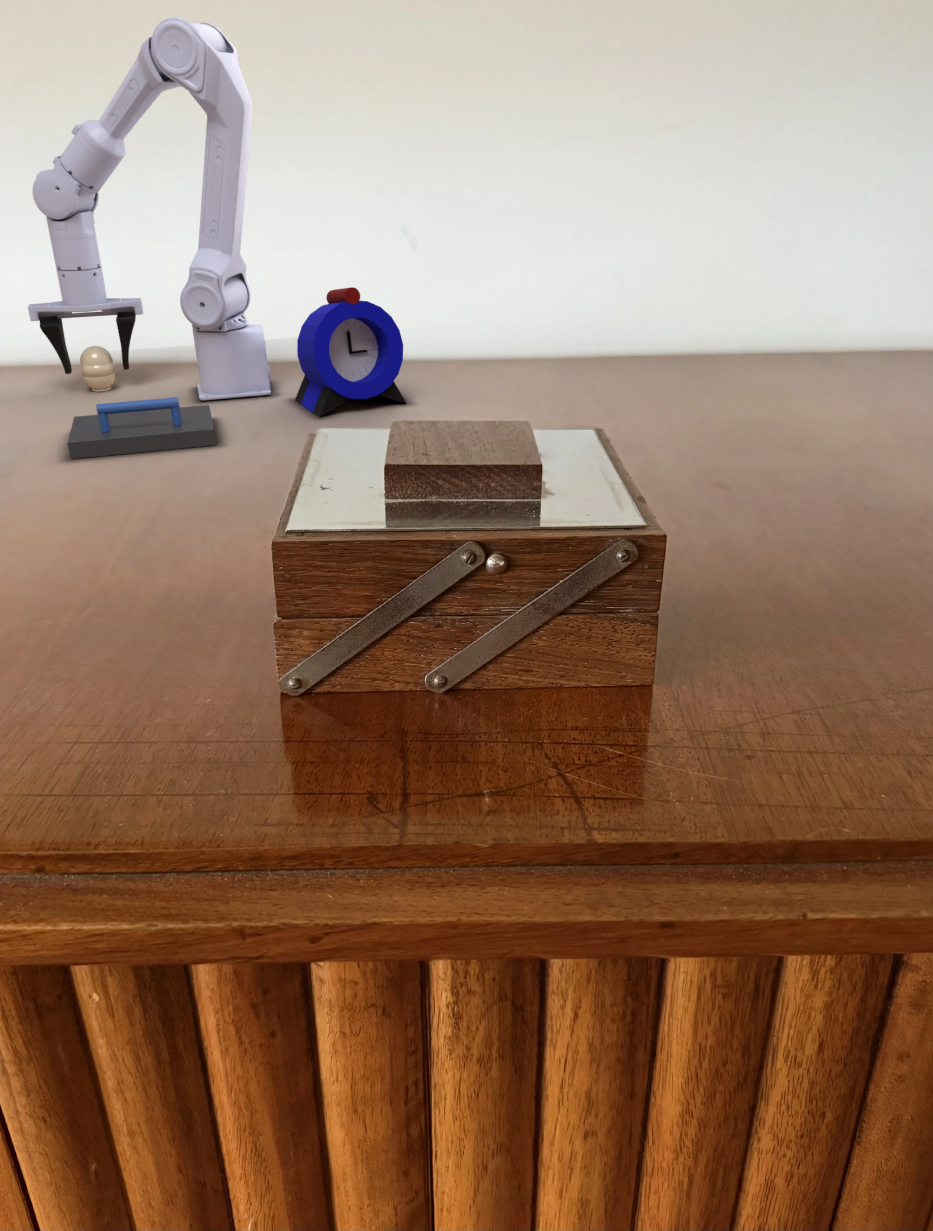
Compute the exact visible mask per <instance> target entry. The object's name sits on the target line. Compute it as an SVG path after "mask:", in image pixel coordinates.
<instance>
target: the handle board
mask: <svg viewBox="0 0 933 1231" xmlns="http://www.w3.org/2000/svg"><path fill="white" fill-rule="evenodd" d="M95 407H96V414H90V415H77V416H73V420H72V424H71V426H70V427H71V428H70V431H69V435H68V439H67V447H68V451H69V452H68V453H69V456H70V460H78V459H87V458H88V459H89V458H99V457H108V456H110V457H111V456H120V455H130V454H131V455H132V454H139V453H141V454H142V453H149V452H161V451H171V450H181V449H192V448H202V447H211V446H216V445H217V441H216V432H215V427H214V421H213V416H212V412H211V406H210V405H209V404H203V405H192V406H191V405H190V406H181V407H180V401H179V397H177V396H176V397H175V396H174V397H165V398H153V399H142V400H140V399H139V400H128V401H117V402H107V403H106V402H105V403H96V405H95Z"/></svg>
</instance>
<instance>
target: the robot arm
mask: <svg viewBox="0 0 933 1231" xmlns="http://www.w3.org/2000/svg"><path fill="white" fill-rule="evenodd" d="M180 87H182V88H183V89H184V90H186V91H187V92H188V93H189V94H190V95H191V96H192V97H193V99H194V101H196V103H197V104H198V105H199V106H200V108H201V109H202V110H203V111H204V113H205V115H206V129H205V143H204V144H205V145H204V159H203V170H202V171H203V172H202V187H201V188H202V189H201V201H200V215H199V216H200V218H199V233H198V243H197V244H198V245H197V251H196V253H195V255H194V257H193V259H192V261H191V263H190V266H189V271H188V279H187V281H186V283H185V285H184V286H183V288H182V290H181V293H180V296H179V297H180V298H179V304H180V308H181V311H182V314H183V316H184V317H185V319H186V320H187V321H188V322H189V323H190V324H191V328H192V335H193V343H194V350H195V356H196V364H197V372H198V379H199V383H198V384H197V385H196V386H197V392H198V399H199V401H212V400H223V399H236V398H246V397H259V396H260V397H261V396H269V395H271V394H272V391H271V384H270V379H271V371H270V366H269V364H268V357H267V348H266V347H267V346H266V340H265V333H264V328H263V325H262V324H261V323H260V324H259V323H258V324H257V323H256V324H248V320H247V316H246V315H245V312H246V311H247V309H248V308H249V306H250V302H251V296H252V295H251V288H250V287H249V284H248V281H247V264H246V262H245V260H244V258H243V256H242V255H241V246H242V234H243V223H244V212H245V203H246V202H245V200H246V191H247V178H248V166H249V157H250V156H249V155H250V144H251V133H252V132H251V131H252V122H253V112H254V110H253V109H254V108H253V101H252V97H251V95H250V91H249V89H248V86H247V84H246V81H245V78H244V76H243V73H242V70H241V67H240V64H239V61H238V49H237V48H236V47H235V46H234V45H233V44H232V42H231V41H230V40H229V39H228V38H227V36H226V35H225V34H224V32H223V31H222V30H221V29H220V28H218V27H217V26H215V25H214V24H212V23H209V22H195V21H190V20H186V19H184V18H181V17H175V16H171V17H167V18H165V19H163V20H162V21H160V22H159V23H158V24H157V25H156V27H154V30H153V31H152V34H151V36H149V37H147V39H145V40H144V42H142V44H141V46H140V49H139V52H138V54H137V57H136V58H135V61H134V62H133V64H132V66H131V67H130V68H129V70H128V72H127V74H126V75H125V77H124V78H123V80H122V82H121V83H120V85H119V87H118V88H117V90H116V92H115V93H114V95H113V97H112V98H111V100H110V102H109V103H108V105H107V106H106V108H105V109H104V112H103V113H102V115H101V116H100V118H99V119H98V120H96V119H95V120H94V119H93V120H92V119H87V120H85V121H84V122H83V123H79V124H75V125H74V127H73V128H72V129H71V133H72V134H73V138H72V139H71V140H70V142H69V143H68V145H66V148H65V149H64V150H63V152H62V154H61V155H56V156H55V157H54V158H53V160H52V164H53V168H50V169H43V170H41V171H39V172H38V173H37V174H36V177H35V179H34V182H33V185H32V198H33V201H34V204H35V205H36V207H37V208H38V210H39V211H40V213H41V214H43V215H44V216H45V218H46V222H47V228H48V232H49V238H50V244H51V248H52V254H53V258H54V264H55V269H56V274H57V275H56V276H57V279H58V280H57V281H58V285H59V289H60V295H61V300H59V301H52V302H51V301H50V302H41V303H29V304H28V305H27V310H28V315H29V321H30V322H39V328H40V330H41V332H42V333H43V334H44V336H45V337H46V338H47V341H49V343H50V344H51V346H52V347H53V349H54V350H55V352H56V354H57V357H58V359H59V361H60V363H61V365H62V367H63V370H64V373H65V375H71V374H72V372H73V368H72V363H71V359H70V355H69V351H68V348H67V344H66V338H65V332H64V325H63V319H74V318H76V319H77V318H91V317H108V316H116V318H115V322H116V328H117V333H118V337H119V338H118V339H119V343H120V349H121V360H122V367H123V370H124V371H125V370H127V371H128V370H130V356H129V355H130V345H131V339H132V335H133V331H134V328H135V324H136V318H137V316H139V315H140V316H141V315H144V308H143V307H144V306H143V302H142V298H141V297H126V298H123V297H115V298H113V297H112V298H111V297H109V298H108V297H107V296H108V295H107V289H106V285H105V279H104V273H103V267H102V262H101V256H100V251H99V245H98V240H97V239H98V238H97V233H96V227H95V224H96V223H95V218H94V217H95V216H94V213H95V210H96V209H97V207H98V204H99V192H100V190H101V189H102V188H103V186H104V185H105V184H106V183H107V181H108V180H109V179H110V176H111V175H112V174H113V173H114V171H115V170H116V168H117V167H118V166H119V165H120V163H121V162H122V160H123V159H124V158H125V156H126V147H125V138H127V137H126V136H127V135H128V134H129V133H130V132H131V130H132V129H133V128H134V127H135V125H136V124H138V122H139V121H140V119H141V118H142V117H143V116H144V115H145V113H146V112H147V111H148V110H149V109H150V107H151V106H152V105H153V103H155V101H156V100H157V99H158V98H159V96H160V95H161V94H162V93H163V92H166V91H169V90H173V89H177V88H180Z"/></svg>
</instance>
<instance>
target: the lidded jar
mask: <svg viewBox="0 0 933 1231" xmlns="http://www.w3.org/2000/svg"><path fill="white" fill-rule="evenodd" d="M79 357H80V358H79V365H80V369H81V376H82V379H83V381H84V382H85V384H86V385H88V387H90V388H91V390H92V392H95V393H98V392H99V393H100V392H107V391H110V390H112V385H113V384H114V382H115V380H116V375H117V374H116V373H117V372H116V368H115V362H114V358H113V356H112V354H111V353H110V351H109V350H108V349H106V348H105V347H104V346H103V347H102V346H100V345H91V346H88V347H86V348H85V349H84V350H83V351H82V352H81V353H80V356H79Z"/></svg>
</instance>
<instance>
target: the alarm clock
mask: <svg viewBox="0 0 933 1231" xmlns="http://www.w3.org/2000/svg"><path fill="white" fill-rule="evenodd" d="M325 299H326V302H327V304H323V305H321V306H319V307H318V308H317V309H315V310H314V311H312V312H310V313H309V315H308V316H307V318H306V319H305V321H304V322H303V324H302V325H301V327H300V330H299V333H298V336H297V342H296V343H297V344H296V348H297V349H296V352H297V353H296V354H297V359H298V362H299V365H300V369H301V372H302V373H303V374H304V376H303V378H302V381H301V384H300V386H299V388H298V391H297V393H296V396H295V399H294V401H295V402H296V403H298V404H299V405H301V406H302V407H303V408H305V409H307V410H308V411H309V412H311V413H312V414H313V415H315V416H317V417H318V418H321V417H322V416H324V415H325V414H327V413H328V412H331V411H332V410H334V409H335V408H337V407H339V406H340V405H342V404H343V403H345V402H346V399H353V400H354V399H355V400H367V399H370V398H373V397H376V396H380V397H383V398H387V399H390V400H394V401H397V402H400V403H403V404H406V405H407V404H408V403H407V401H406V400H405V398H404V396H403V394H402V392H401V390H400V389H399V387H398V385H397V384H396V382H395V380H396V378H397V377H398V375H399V374H400V370H401V369H402V368H401V367H402V364H403V362H404V342H403V337H402V334H401V331H400V328H399V327H398V325H397V323H396V322H395V320H394V318H393V317H392V316H391V315H390V314H389V313H388V312H387V311H386V310H385V309H384V308H382V306H380V305H377V304H375V303H372V302H370V301H368V300H361V292H360V291H359V289H358V288H356V287H351V286H350V287H344V288H336V289H331V290H329V291H328V292H327V294H326V298H325Z"/></svg>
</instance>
